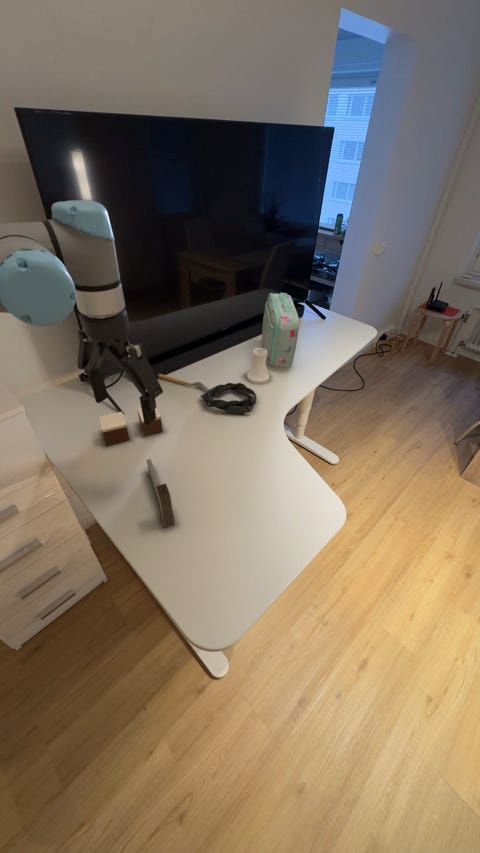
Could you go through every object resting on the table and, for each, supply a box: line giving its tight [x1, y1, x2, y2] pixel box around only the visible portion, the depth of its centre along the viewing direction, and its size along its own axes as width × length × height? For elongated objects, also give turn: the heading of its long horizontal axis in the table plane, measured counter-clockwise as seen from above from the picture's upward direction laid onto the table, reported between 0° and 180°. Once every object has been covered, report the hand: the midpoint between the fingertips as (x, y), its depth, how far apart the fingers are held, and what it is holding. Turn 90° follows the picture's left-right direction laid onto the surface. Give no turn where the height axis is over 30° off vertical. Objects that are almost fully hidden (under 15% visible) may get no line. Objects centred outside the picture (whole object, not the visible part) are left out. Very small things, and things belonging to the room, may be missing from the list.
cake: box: [98, 411, 131, 447], centre depth 91 cm, size 6×6×6 cm
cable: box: [200, 382, 257, 415], centre depth 105 cm, size 17×14×4 cm
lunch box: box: [260, 292, 300, 368], centre depth 124 cm, size 27×10×21 cm, turn 3°
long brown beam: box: [146, 458, 175, 528], centre depth 74 cm, size 2×17×10 cm, turn 25°
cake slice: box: [136, 406, 164, 437], centre depth 94 cm, size 5×6×6 cm
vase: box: [246, 347, 270, 384], centre depth 115 cm, size 8×8×10 cm
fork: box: [157, 373, 209, 392], centre depth 112 cm, size 2×2×20 cm
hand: (125, 410), depth 72 cm, fingers open, 13 cm apart
